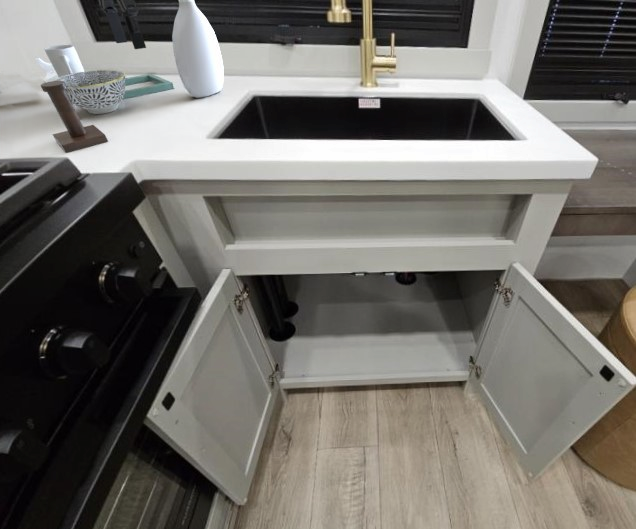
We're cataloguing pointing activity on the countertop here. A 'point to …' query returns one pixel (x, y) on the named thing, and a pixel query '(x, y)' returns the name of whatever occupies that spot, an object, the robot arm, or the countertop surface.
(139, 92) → the frame
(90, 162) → the countertop surface
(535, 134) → the countertop surface
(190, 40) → the soap bottle
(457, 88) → the countertop surface
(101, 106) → the bowl
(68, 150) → the peg stand
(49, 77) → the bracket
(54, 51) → the mug
